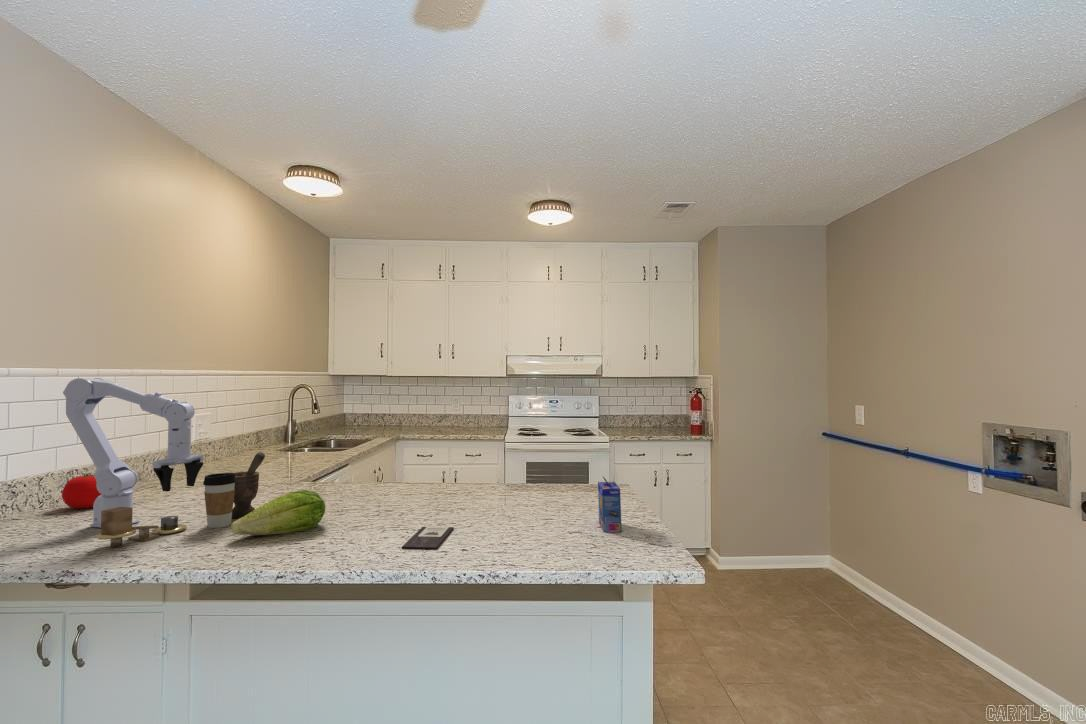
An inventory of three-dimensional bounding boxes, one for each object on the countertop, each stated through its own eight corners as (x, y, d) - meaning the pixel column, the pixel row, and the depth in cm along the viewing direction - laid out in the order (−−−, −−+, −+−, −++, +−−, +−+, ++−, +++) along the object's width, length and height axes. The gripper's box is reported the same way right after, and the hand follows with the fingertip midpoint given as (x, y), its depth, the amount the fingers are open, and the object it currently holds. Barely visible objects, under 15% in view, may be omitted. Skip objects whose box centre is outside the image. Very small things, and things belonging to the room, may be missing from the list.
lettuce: (220, 517, 147) (231, 495, 140) (309, 496, 165) (323, 477, 158) (231, 558, 142) (243, 538, 135) (321, 532, 160) (336, 514, 153)
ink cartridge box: (597, 522, 159) (597, 473, 159) (615, 522, 159) (615, 473, 160) (602, 532, 149) (602, 480, 150) (622, 532, 149) (621, 480, 150)
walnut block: (100, 534, 136) (101, 510, 136) (119, 529, 140) (119, 506, 140) (113, 535, 135) (114, 511, 135) (132, 530, 139) (132, 507, 139)
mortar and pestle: (273, 511, 172) (273, 449, 173) (260, 518, 164) (261, 453, 164) (235, 512, 171) (236, 449, 172) (221, 519, 163) (222, 453, 163)
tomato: (51, 511, 173) (52, 476, 173) (92, 501, 186) (92, 469, 186) (82, 512, 171) (83, 478, 171) (121, 503, 184) (122, 470, 184)
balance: (88, 549, 135) (88, 533, 135) (172, 526, 156) (172, 512, 156) (110, 552, 132) (110, 536, 132) (193, 528, 153) (193, 514, 153)
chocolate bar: (401, 546, 135) (422, 526, 153) (401, 550, 135) (422, 530, 153) (436, 547, 135) (453, 527, 153) (436, 551, 135) (453, 530, 153)
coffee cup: (220, 530, 152) (221, 476, 152) (195, 528, 153) (195, 475, 154) (242, 522, 160) (243, 471, 160) (218, 520, 162) (219, 470, 162)
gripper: (165, 446, 153) (164, 494, 153) (211, 440, 167) (210, 484, 166) (147, 445, 155) (146, 492, 155) (194, 439, 169) (193, 483, 168)
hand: (178, 488), depth 161 cm, fingers open, 7 cm apart
